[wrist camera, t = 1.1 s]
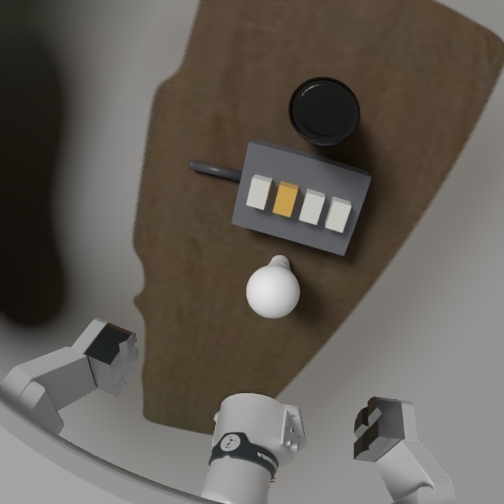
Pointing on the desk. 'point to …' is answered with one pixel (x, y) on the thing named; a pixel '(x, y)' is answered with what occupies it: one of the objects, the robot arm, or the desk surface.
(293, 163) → the breaker strip
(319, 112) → the supplement bottle
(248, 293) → the lightbulb
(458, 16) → the desk surface
